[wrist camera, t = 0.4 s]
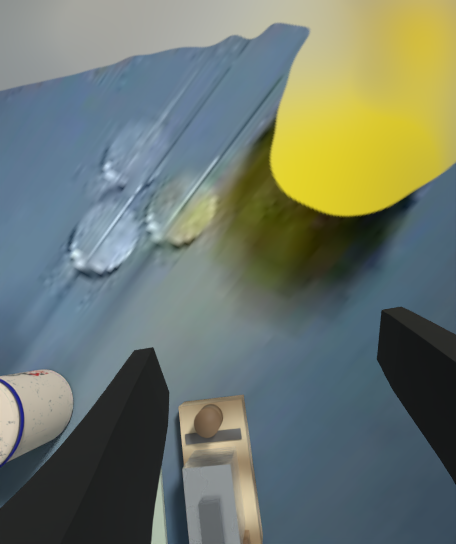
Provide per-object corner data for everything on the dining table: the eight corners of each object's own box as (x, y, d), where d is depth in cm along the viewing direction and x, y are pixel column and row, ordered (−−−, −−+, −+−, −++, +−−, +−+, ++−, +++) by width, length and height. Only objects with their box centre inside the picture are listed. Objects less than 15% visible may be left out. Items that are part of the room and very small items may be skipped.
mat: (170, 572, 33) (168, 576, 33) (100, 576, 34) (97, 580, 34) (160, 450, 36) (158, 452, 35) (95, 457, 36) (92, 459, 36)
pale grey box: (245, 522, 31) (240, 559, 26) (201, 525, 31) (188, 562, 26) (235, 446, 32) (229, 467, 27) (194, 450, 33) (180, 472, 28)
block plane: (262, 533, 33) (261, 569, 28) (198, 538, 33) (186, 573, 29) (243, 394, 36) (239, 404, 31) (184, 401, 36) (171, 412, 31)
